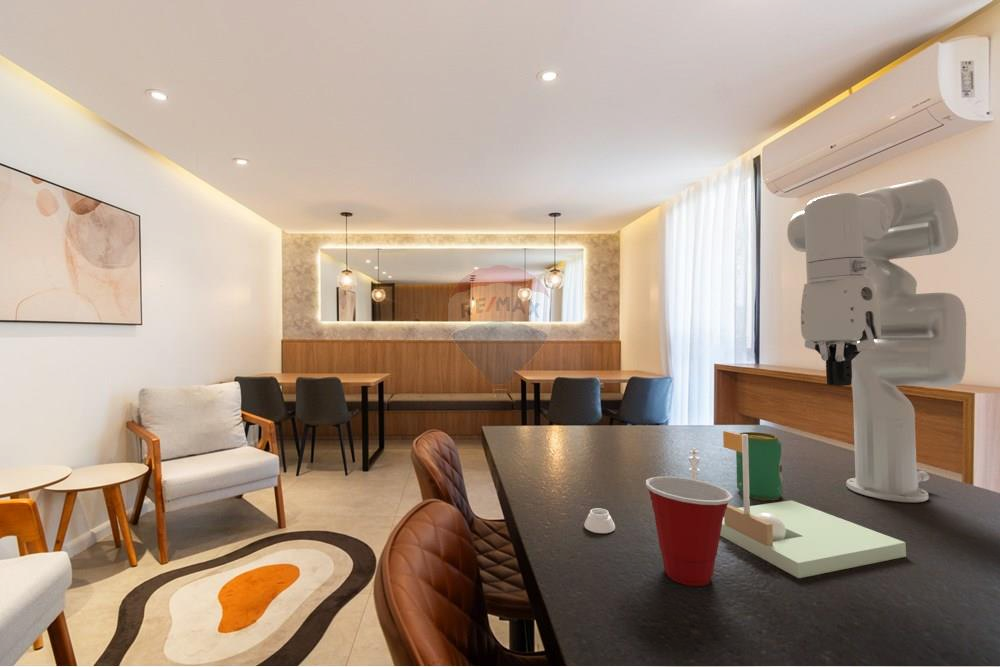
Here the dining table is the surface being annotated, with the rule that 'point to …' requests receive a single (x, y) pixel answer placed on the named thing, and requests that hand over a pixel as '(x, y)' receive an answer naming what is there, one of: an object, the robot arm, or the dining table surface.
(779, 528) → the white egg
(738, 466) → the beverage can
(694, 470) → the chess piece
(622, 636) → the dining table surface
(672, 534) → the plastic cup
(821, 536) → the green
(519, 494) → the dining table surface
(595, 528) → the white jar
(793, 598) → the dining table surface
